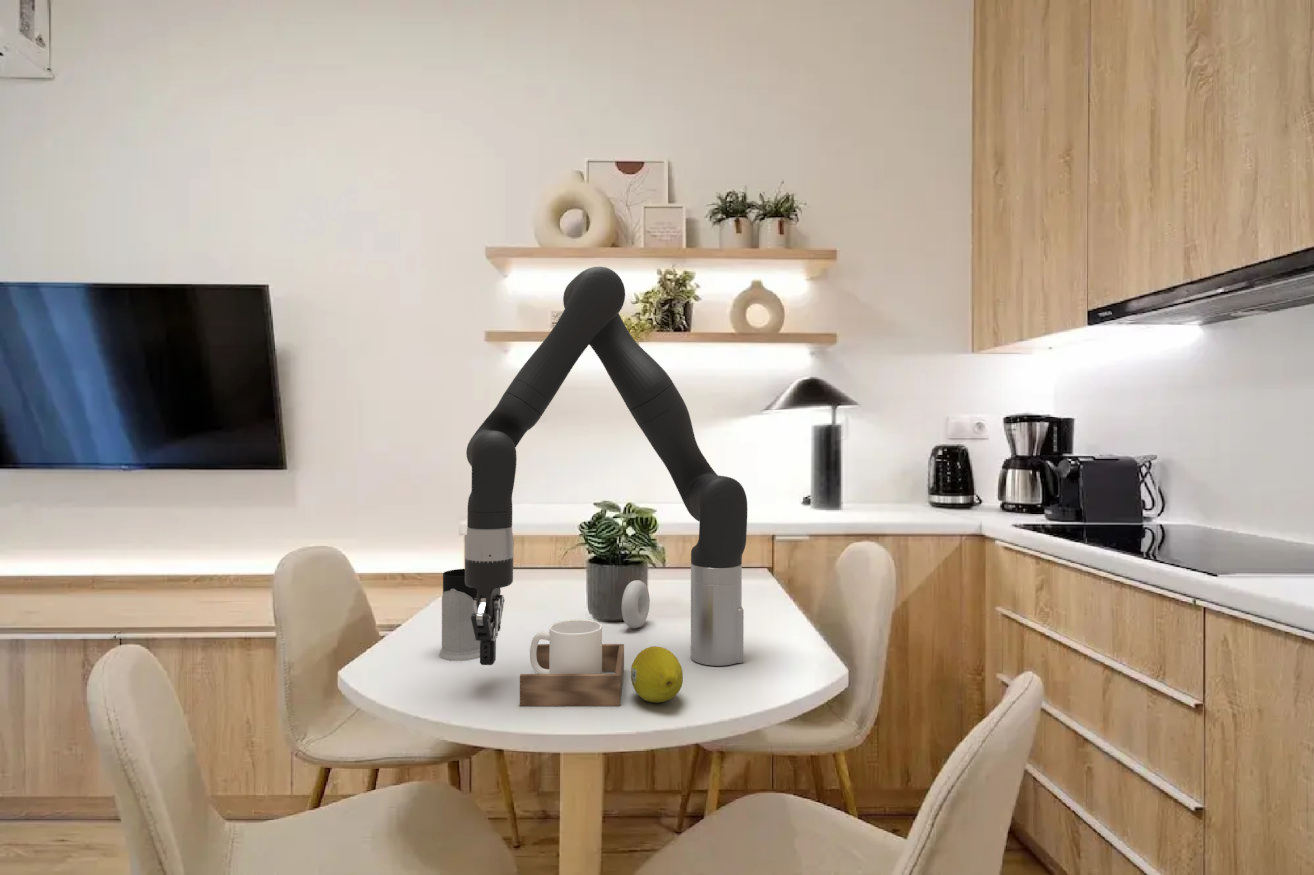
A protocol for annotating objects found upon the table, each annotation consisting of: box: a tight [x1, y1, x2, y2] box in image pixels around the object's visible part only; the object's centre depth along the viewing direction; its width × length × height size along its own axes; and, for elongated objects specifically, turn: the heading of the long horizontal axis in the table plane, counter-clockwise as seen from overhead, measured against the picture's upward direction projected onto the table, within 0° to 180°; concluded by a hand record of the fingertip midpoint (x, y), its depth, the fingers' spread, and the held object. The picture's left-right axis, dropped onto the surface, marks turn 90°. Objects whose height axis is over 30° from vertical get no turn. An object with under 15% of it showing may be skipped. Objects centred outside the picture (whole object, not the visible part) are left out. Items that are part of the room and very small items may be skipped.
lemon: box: [630, 646, 684, 703], centre depth 104 cm, size 11×8×8 cm
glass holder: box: [438, 568, 480, 662], centre depth 129 cm, size 9×14×15 cm, turn 166°
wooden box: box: [519, 643, 625, 707], centre depth 110 cm, size 15×16×4 cm
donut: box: [621, 580, 651, 629], centre depth 144 cm, size 10×4×10 cm, turn 159°
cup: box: [529, 619, 603, 674], centre depth 109 cm, size 8×12×10 cm
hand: (487, 663), depth 109 cm, fingers closed
